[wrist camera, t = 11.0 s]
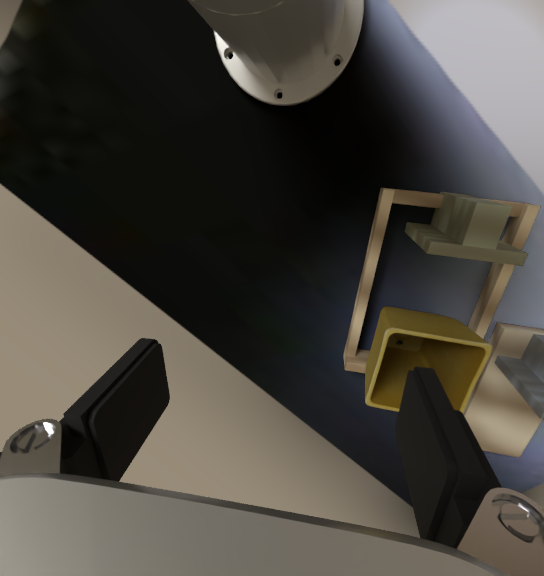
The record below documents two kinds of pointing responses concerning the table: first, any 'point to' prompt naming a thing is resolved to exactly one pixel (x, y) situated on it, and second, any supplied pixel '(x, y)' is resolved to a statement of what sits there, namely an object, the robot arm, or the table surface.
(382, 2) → the table surface
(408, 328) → the flower pot
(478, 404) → the beige l-shaped piece
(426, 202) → the wooden frame with block
